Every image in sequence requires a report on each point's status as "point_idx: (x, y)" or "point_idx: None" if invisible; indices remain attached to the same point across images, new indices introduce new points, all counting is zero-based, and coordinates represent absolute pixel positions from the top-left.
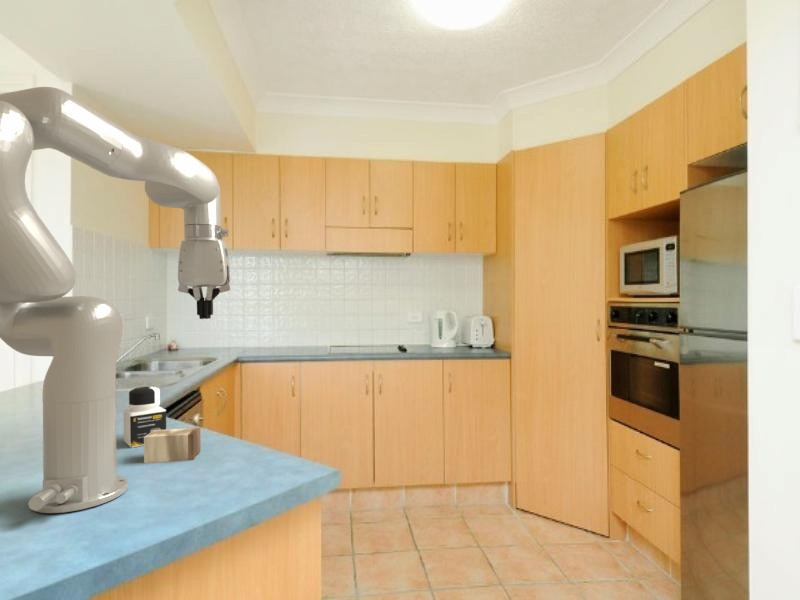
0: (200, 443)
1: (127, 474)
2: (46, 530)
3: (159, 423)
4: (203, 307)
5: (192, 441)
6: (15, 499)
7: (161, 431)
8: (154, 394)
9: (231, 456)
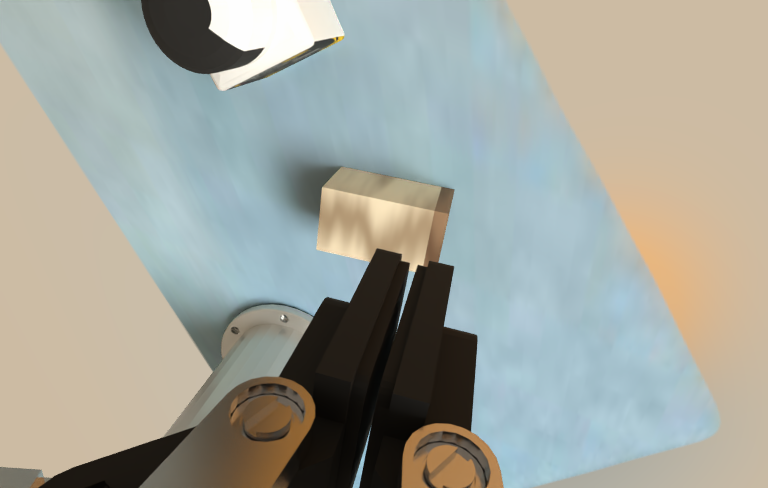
0: (452, 197)
1: (322, 282)
2: None
3: (309, 51)
4: (368, 426)
5: None
6: (191, 323)
7: (346, 210)
8: (249, 49)
9: (529, 258)
